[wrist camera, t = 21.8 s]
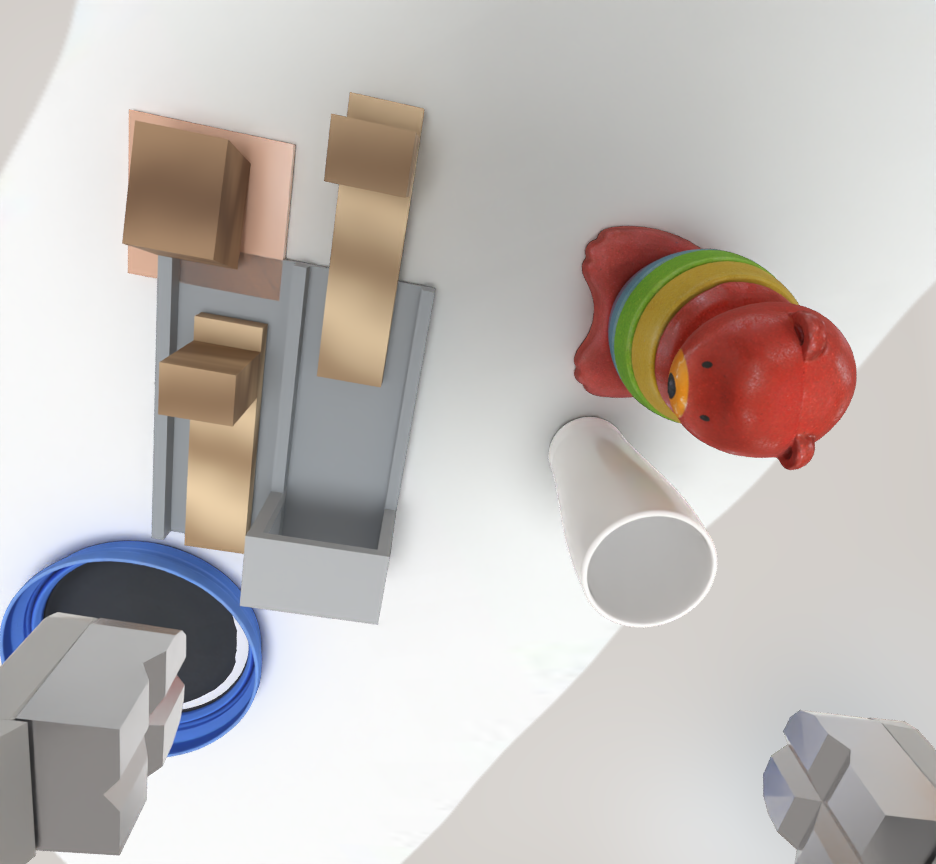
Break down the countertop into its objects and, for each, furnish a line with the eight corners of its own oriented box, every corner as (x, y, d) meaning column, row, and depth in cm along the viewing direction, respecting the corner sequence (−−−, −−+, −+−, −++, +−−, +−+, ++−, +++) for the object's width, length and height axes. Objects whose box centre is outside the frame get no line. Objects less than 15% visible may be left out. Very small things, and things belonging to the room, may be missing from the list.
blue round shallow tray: (32, 708, 51) (4, 744, 48) (22, 513, 45) (-11, 539, 42) (260, 735, 53) (248, 772, 50) (281, 552, 47) (268, 580, 44)
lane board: (170, 236, 38) (109, 249, 31) (435, 287, 40) (433, 311, 33) (162, 525, 45) (110, 588, 38) (387, 558, 47) (377, 624, 40)
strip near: (352, 94, 35) (335, 78, 29) (424, 110, 36) (421, 97, 30) (320, 370, 41) (300, 402, 35) (382, 381, 41) (372, 414, 35)
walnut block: (169, 147, 36) (135, 120, 32) (250, 163, 36) (228, 139, 32) (157, 255, 37) (122, 243, 32) (237, 269, 37) (213, 260, 33)
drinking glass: (542, 500, 46) (586, 640, 32) (530, 412, 43) (573, 522, 29) (636, 485, 46) (721, 618, 32) (630, 396, 43) (719, 499, 29)
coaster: (133, 110, 36) (128, 109, 35) (295, 144, 37) (293, 144, 36) (132, 271, 39) (127, 272, 38) (281, 299, 40) (279, 301, 39)
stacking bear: (584, 224, 39) (689, 257, 22) (747, 228, 39) (967, 262, 23) (570, 393, 43) (650, 526, 26) (717, 394, 43) (887, 526, 27)
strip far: (201, 312, 39) (160, 334, 33) (267, 324, 40) (237, 348, 34) (190, 536, 45) (153, 588, 39) (248, 544, 45) (220, 597, 39)
